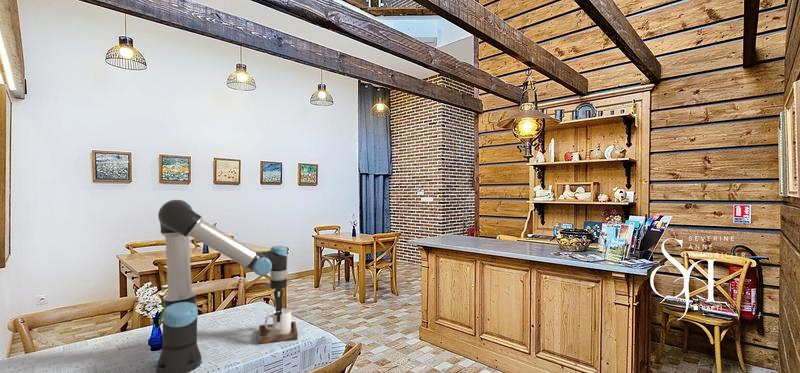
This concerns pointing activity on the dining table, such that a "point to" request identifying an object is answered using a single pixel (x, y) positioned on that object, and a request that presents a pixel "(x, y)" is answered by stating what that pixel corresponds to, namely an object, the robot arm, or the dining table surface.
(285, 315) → the cup
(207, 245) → the robot arm
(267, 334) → the tray
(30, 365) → the dining table surface
